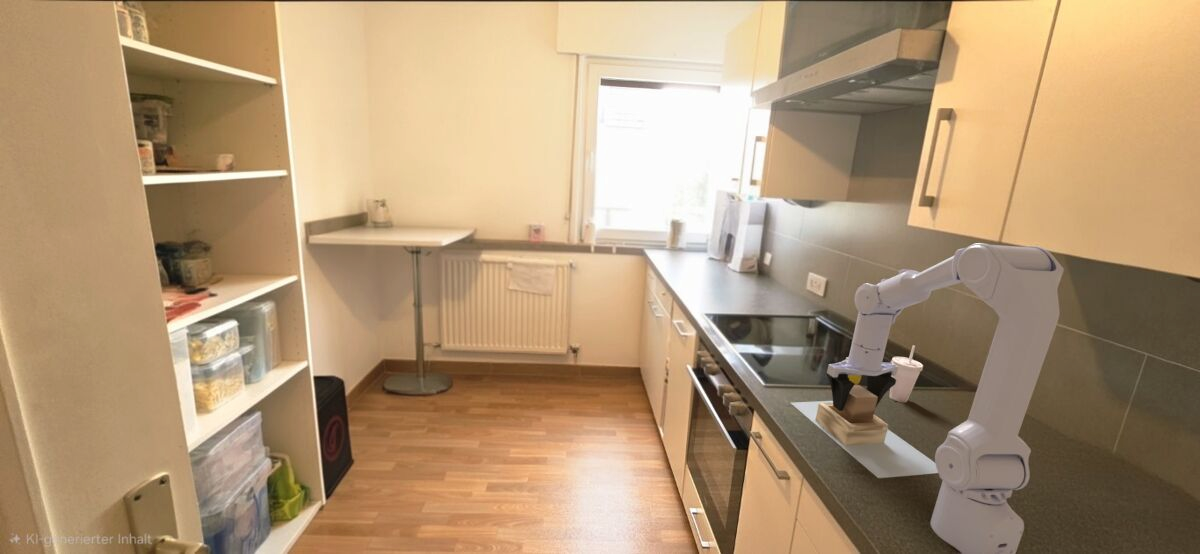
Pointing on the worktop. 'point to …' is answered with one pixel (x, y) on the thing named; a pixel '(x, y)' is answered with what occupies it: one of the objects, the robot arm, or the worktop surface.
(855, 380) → the lemon
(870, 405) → the walnut block
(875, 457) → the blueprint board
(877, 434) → the socket base
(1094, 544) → the worktop surface
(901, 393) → the smoothie
